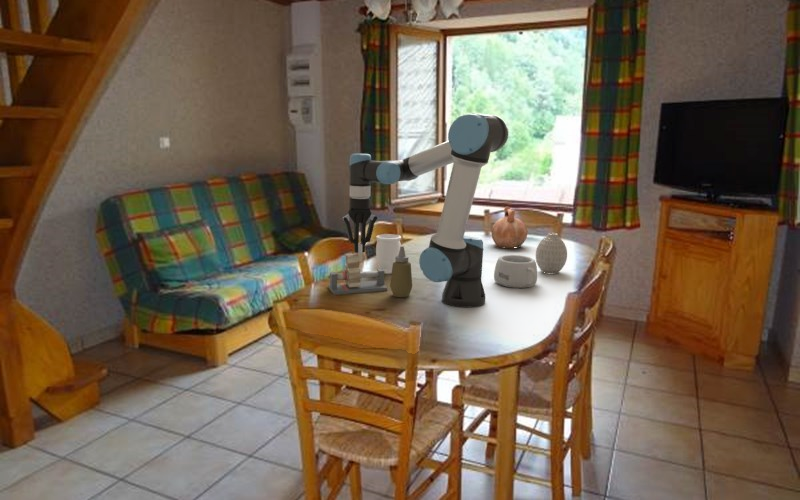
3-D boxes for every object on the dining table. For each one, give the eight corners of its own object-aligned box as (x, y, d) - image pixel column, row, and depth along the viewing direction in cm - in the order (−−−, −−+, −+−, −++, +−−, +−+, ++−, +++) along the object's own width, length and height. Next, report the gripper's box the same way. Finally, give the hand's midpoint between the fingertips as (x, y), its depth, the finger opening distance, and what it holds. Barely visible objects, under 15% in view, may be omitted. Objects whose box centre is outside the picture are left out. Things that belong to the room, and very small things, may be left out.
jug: (530, 251, 279) (533, 211, 275) (493, 250, 279) (495, 210, 275) (522, 243, 297) (525, 205, 293) (488, 242, 297) (490, 204, 293)
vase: (528, 272, 239) (531, 233, 235) (543, 266, 248) (546, 229, 245) (556, 278, 231) (559, 238, 227) (570, 272, 240) (574, 233, 236)
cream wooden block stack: (360, 286, 206) (360, 256, 204) (349, 287, 205) (349, 257, 202) (355, 281, 212) (355, 252, 210) (344, 282, 211) (344, 253, 209)
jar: (397, 275, 229) (398, 239, 226) (373, 273, 231) (373, 237, 228) (402, 269, 239) (403, 234, 236) (379, 267, 241) (379, 233, 238)
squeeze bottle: (404, 300, 197) (406, 250, 193) (385, 296, 202) (386, 247, 198) (416, 294, 204) (417, 246, 200) (397, 290, 208) (398, 243, 204)
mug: (485, 279, 226) (486, 255, 224) (520, 276, 232) (521, 252, 230) (516, 294, 207) (518, 268, 205) (553, 290, 213) (555, 264, 211)
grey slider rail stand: (387, 290, 208) (387, 273, 207) (333, 294, 202) (333, 277, 200) (379, 283, 217) (379, 266, 216) (327, 287, 211) (327, 270, 209)
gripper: (374, 195, 208) (373, 257, 213) (339, 196, 204) (339, 259, 209) (380, 198, 201) (379, 262, 206) (344, 199, 197) (344, 264, 202)
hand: (359, 260), depth 208 cm, fingers closed
